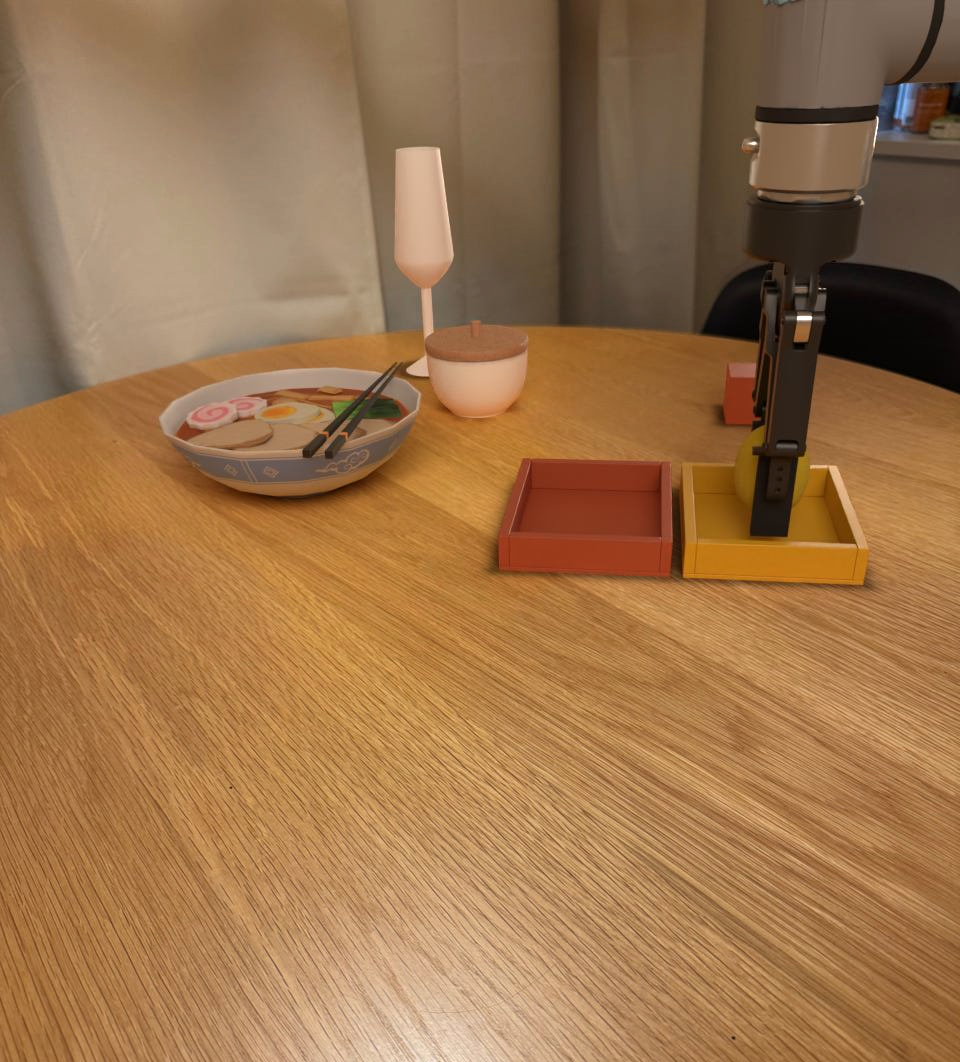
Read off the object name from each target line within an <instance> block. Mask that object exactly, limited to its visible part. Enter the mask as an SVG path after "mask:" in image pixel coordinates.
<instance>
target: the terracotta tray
mask: <svg viewBox="0 0 960 1062" xmlns="http://www.w3.org/2000/svg"><path fill="white" fill-rule="evenodd" d="M513 484H514V485H513V488H512V491H511V494H510V496H509V500H508V503H507V507H506V509H505V510H506V511H505V513H504V516H503V519H502V522H501V527H500V529H499V531H498V535H497V539H498V540H497V547H498V548H497V549H498V551H497V552H498V570H499V571H516V572H538V573H540V572H542V573H562V574H563V573H564V574H585V575H586V574H588V575H610V576H634V577H635V576H637V577H657V578H658V577H660V578H662V577H663V578H670V577H671V571H672V558H673V557H672V556H673V543H674V542H673V539H674V538H673V499H672V498H673V496H672V462H671V461H660V460H659V461H656V460H655V461H652V460H619V459H618V460H613V459H608V460H607V459H578V458H577V459H576V458H575V459H573V458H539V457H538V458H537V457H536V458H532V457H523V458H522V460H521V463H520V466H519V469H518V472H517V475H516V479H515V482H514V483H513Z"/></svg>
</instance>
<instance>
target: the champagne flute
mask: <svg viewBox="0 0 960 1062" xmlns="http://www.w3.org/2000/svg"><path fill="white" fill-rule="evenodd" d="M394 168H395V173H394V175H395V178H394V246H393V247H394V248H393V249H394V251H393V252H394V253H393V256H394V262H395V265H396V266H397V267H398V269H399V270H400V271H401V273H402V274H403V275H404V276H405V277H406V278H407V279H408V280H410V282H411V283H413V284H414V285H415V286H417V287H419V288H420V294H421V295H420V296H421V313H422V329H423V345H424V347H425V339H426V337H427V336H429V335H430V334H432V333H434V332H435V330H434V317H433V316H434V315H433V299H432V297H433V295H432V287H433V286H435V285H436V284H437V283H438V282H440V280H441V279H442V278H443V277H444V276H445V275H446V273H447V272H448V270H449V269H450V267H451V265H452V263H453V261H454V256H455V254H454V247H453V246H454V245H453V238H452V233H451V231H452V230H451V226H450V225H451V224H450V217H449V209H448V201H447V194H446V193H447V192H446V186H445V179H444V172H443V170H444V169H443V164H442V157H441V149H440V147H437V146H412V147H402V148H397V149H395V167H394ZM405 370H406V371H405V372H406V373H407V374H409V375H411V376H416V377H429V373H428V367H427V355H426V351H425V350H424V356H422V357H421V358H420V359H418V360H416V361H415V362H414V363H412V364H411V365H410V366H408V367H407V368H406V369H405Z"/></svg>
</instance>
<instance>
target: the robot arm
mask: <svg viewBox="0 0 960 1062" xmlns="http://www.w3.org/2000/svg"><path fill="white" fill-rule="evenodd" d="M762 4H763V6H764V7H763V8H764V9H763V22H762V33H761V42H760V44H761V45H760V56H759V65H758V67H759V68H758V76H757V77H758V78H757V86H756V87H757V89H756V101H755V105H756V106H755V111H754V125H753V129H754V131H755V132H756V136H755V135H754V136H747V137H744V139H743V140H742V142H741V143H742V146H741V151H742V152H743V153H744V154H748V155H749V154H753V155H752V156H751V158H750V163H749V172H748V173H749V174H748V184H749V186H751V188H752V189H754V190H757V192H756V193H753V194H752V195H750V196H749V198H748V199H747V200H746V201H745V207H744V216H743V226H742V235H741V250H742V253H743V254H744V255H745V256H746V257H748V258H750V259H752V260H755V261H759V262H762V263H769V264H770V263H773V268H772V270H766V272H765V275H764V276H763V280H761V281H762V282H761V287H760V294H759V295H760V297H759V298H760V306H761V312H760V319H759V326H758V329H759V339H758V347H757V355H756V363H757V364H756V372H755V381H754V390H753V391H752V395H751V397H752V400H753V402H755V405H754V406H753V411H752V412H753V414H754V418H759V421H752V424H751V431H750V433H751V432H752V431H754V430H755V429H757V428H759V427H761V426H764V425H765V429H764V441H763V444H762V446H752V455H753V456H758V464H757V472H756V481H755V489H754V498H753V506H752V515H751V523H750V536H768V537H788V530H789V523H790V516H791V509H792V501H793V494H794V487H795V480H796V473H797V466H798V459H799V457H803V456H804V455H805V452H806V448H808V446H807V439H808V438H807V437H808V429H809V423H810V416H811V408H812V402H813V401H812V400H813V399H812V398H813V393H814V386H815V380H816V379H815V378H816V372H817V371H816V370H817V364H818V363H817V362H818V356H819V350H820V344H821V338H822V332H823V328H824V325H825V324H826V321H827V317H826V315H825V314H826V313H825V311H826V304H827V294H828V293H827V288H822V280H820V269H821V267H822V266H824V265H825V264H827V263H839V262H843V261H847V260H848V259H850V258H852V257H853V256H854V255H855V254H856V253H857V250H858V248H859V242H860V241H859V240H860V234H861V227H862V222H863V214H864V208H865V201H864V200H863V199H862V196H861V195H859V194H858V191H860V190H861V189H864V188H865V187H866V186H867V185H868V184H869V180H870V175H871V174H870V173H871V168H872V161H873V155H874V149H875V143H876V136H877V132H878V131H877V130H878V125H879V117H878V116H879V111H880V104H881V100H882V95H883V90H884V87H885V86H886V87H887V86H900V85H903V84H904V85H905V84H944V83H960V0H762Z"/></svg>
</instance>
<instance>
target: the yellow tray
mask: <svg viewBox="0 0 960 1062" xmlns="http://www.w3.org/2000/svg"><path fill="white" fill-rule="evenodd" d="M734 466H735V462H699V461H692V462H691V461H682V462H681V466H680V467H681V468H680V478H679V479H680V480H679V516H680V517H679V518H680V541H681V542H680V543H681V569H682V578H685V579H686V578H687V579H708V580H709V579H710V580H731V581H732V580H735V581H759V582H780V583H781V582H785V583H805V584H806V583H807V584H831V585H832V584H833V585H857V586H864V583H865V579H866V572H867V567H868V562H869V556H870V550H871V548H870V546H869V543H868V541H867V539H866V536H865V533H864V531H863V528H862V526H861V524H860V523H861V522H860V521H859V518H858V515H857V513H856V511H855V508H854V506H853V502H852V500H851V497H850V496H849V493H848V490H847V488H846V486H845V482H844V480H843V477H842V475H841V472H840V470H839V467H838V466H837V465H830V464H829V465H828V464H827V465H825V464H824V465H822V464H820V465H819V464H810V474H809V480H808V484H807V487H806V490H805V492H804V494H803V496H802V498H801V500H800V501H799V502H798V503H797V504H796V505H795V506H794V507H793V508H792V509H791V516H790V523H789V530H788V537H768V536H750V523H751V515H752V512H751V511H749V510H748V509H747V508H746V507H744V505H743V504H742V503H741V502H740V500H739V498H738V496H737V494H736V492H735V488H734V481H733V475H734Z"/></svg>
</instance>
